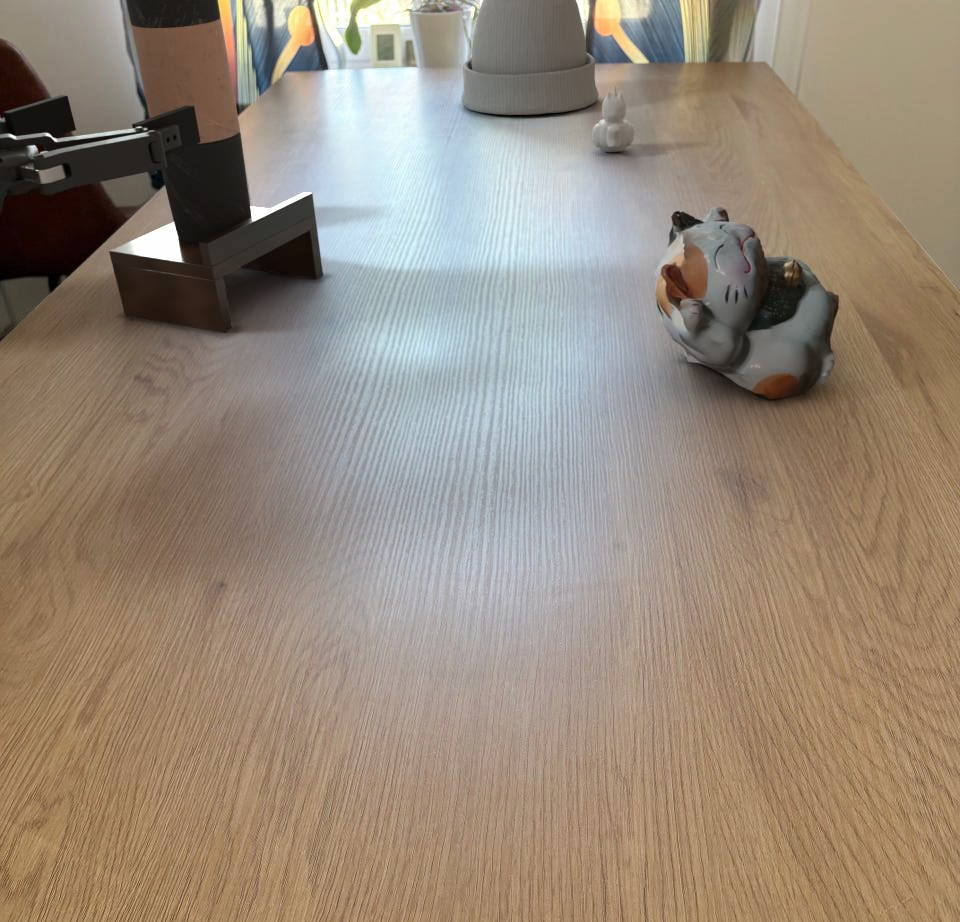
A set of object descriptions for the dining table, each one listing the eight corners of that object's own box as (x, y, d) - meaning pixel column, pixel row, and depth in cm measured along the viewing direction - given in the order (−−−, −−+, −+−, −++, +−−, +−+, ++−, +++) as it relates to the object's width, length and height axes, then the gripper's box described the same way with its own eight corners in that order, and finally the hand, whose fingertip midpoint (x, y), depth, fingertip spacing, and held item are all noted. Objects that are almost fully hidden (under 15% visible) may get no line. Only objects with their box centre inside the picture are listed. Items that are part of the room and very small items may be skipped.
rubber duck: (631, 145, 144) (634, 79, 139) (635, 158, 138) (638, 90, 134) (590, 146, 144) (592, 80, 139) (592, 159, 139) (594, 91, 134)
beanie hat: (601, 149, 173) (611, 15, 170) (584, 106, 152) (596, -48, 149) (474, 149, 177) (481, 18, 174) (441, 107, 157) (449, -43, 153)
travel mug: (183, 250, 98) (131, -4, 85) (167, 227, 103) (115, -14, 91) (265, 236, 100) (225, -13, 88) (245, 214, 106) (205, -23, 93)
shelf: (124, 314, 102) (103, 228, 97) (228, 260, 113) (214, 181, 108) (224, 333, 98) (207, 243, 93) (323, 275, 109) (312, 192, 104)
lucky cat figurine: (825, 413, 80) (758, 259, 72) (680, 440, 88) (604, 304, 80) (858, 289, 88) (801, 137, 80) (722, 324, 96) (657, 188, 87)
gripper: (-174, 223, 82) (33, 153, 96) (70, 263, 72) (258, 179, 87) (-217, 116, 77) (7, 60, 92) (37, 143, 68) (242, 76, 82)
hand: (129, 118), depth 89 cm, fingers open, 13 cm apart
